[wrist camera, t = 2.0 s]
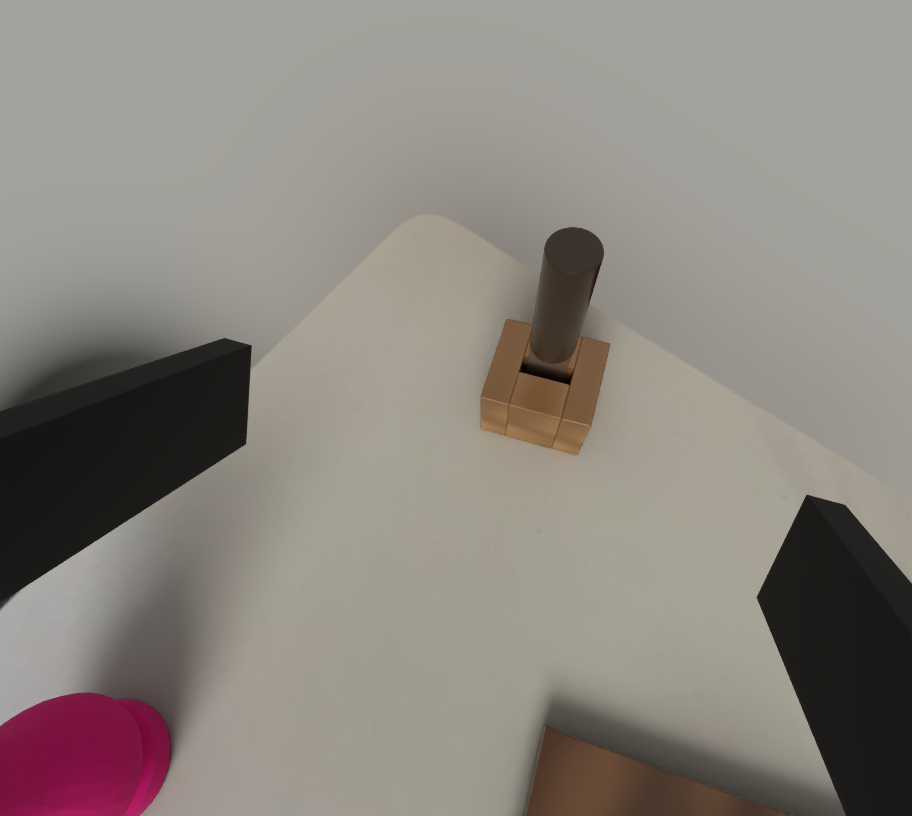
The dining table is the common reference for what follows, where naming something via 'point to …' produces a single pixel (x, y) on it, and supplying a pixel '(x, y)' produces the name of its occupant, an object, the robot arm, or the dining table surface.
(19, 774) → the pepper mill
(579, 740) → the butter board
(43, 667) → the dining table surface
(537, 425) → the knife stand
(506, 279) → the dining table surface
